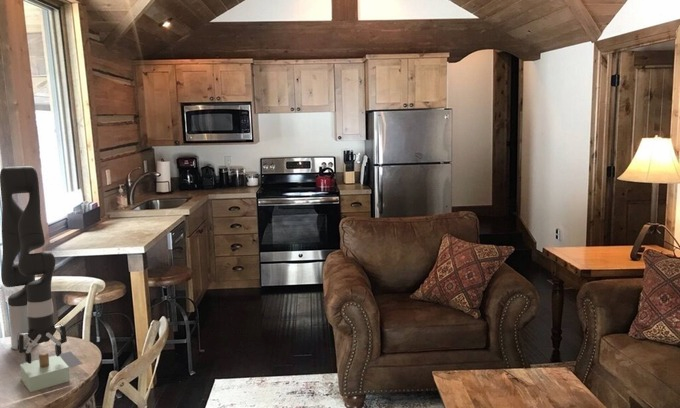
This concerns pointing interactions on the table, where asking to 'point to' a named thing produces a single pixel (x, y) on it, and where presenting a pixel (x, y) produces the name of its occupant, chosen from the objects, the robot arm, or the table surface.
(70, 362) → the mat
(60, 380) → the cover
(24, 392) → the table surface
